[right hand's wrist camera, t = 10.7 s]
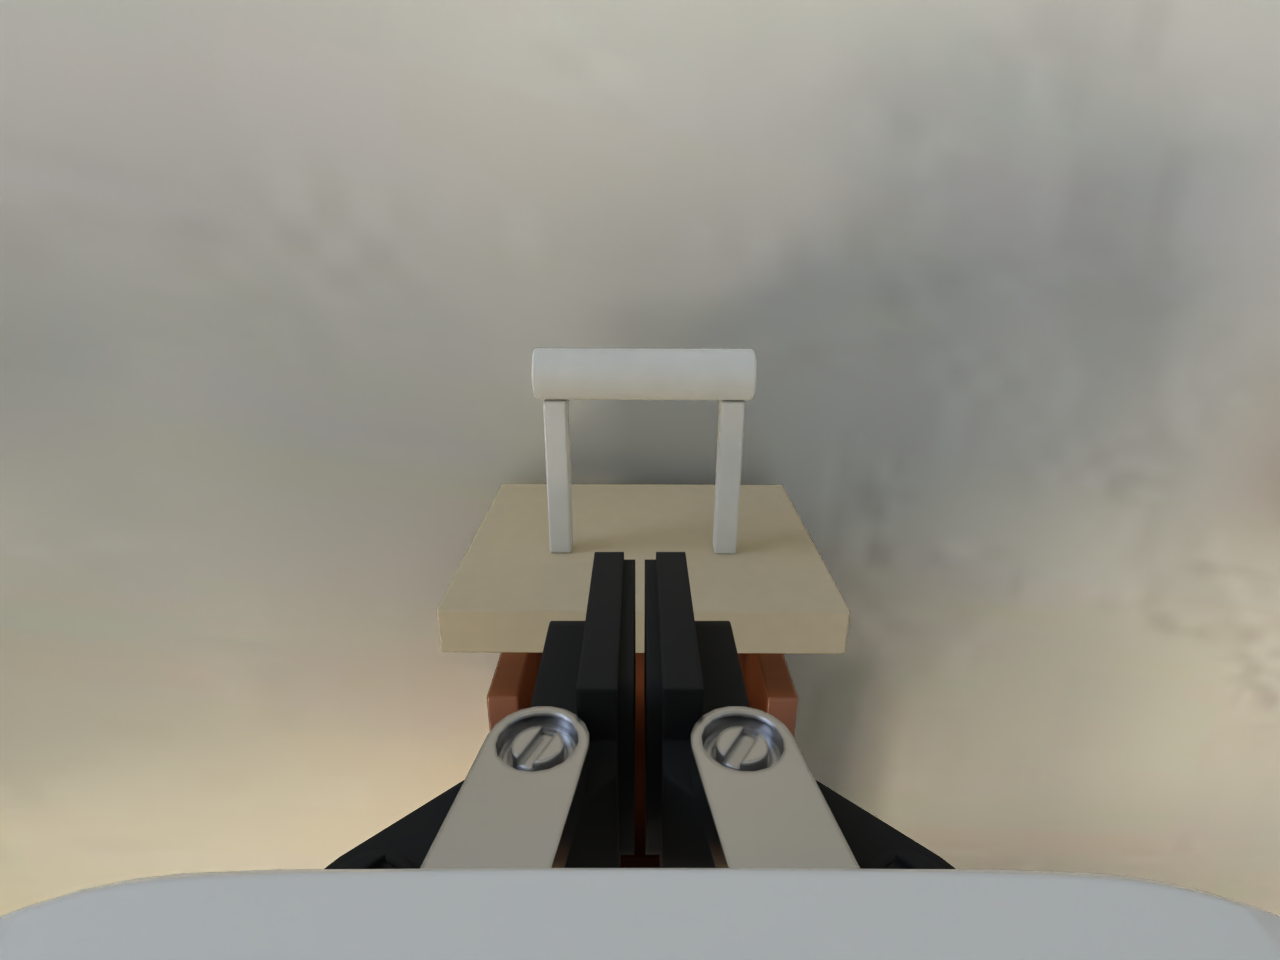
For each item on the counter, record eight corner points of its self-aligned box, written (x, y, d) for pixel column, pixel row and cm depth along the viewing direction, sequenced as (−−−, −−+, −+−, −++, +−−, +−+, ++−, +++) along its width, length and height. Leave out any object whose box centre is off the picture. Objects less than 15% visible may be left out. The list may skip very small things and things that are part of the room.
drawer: (490, 320, 22) (407, 375, 14) (796, 321, 22) (882, 377, 14) (527, 845, 30) (488, 1063, 22) (752, 845, 30) (791, 1064, 22)
